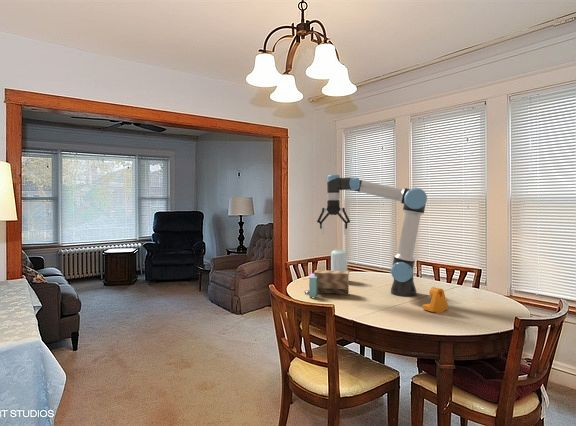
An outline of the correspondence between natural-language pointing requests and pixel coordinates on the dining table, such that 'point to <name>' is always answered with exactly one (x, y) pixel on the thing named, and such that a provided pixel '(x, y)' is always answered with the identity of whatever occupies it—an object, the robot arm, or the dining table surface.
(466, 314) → the dining table surface
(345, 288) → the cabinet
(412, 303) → the dining table surface
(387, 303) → the dining table surface
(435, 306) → the bracket
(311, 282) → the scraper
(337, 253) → the vase
